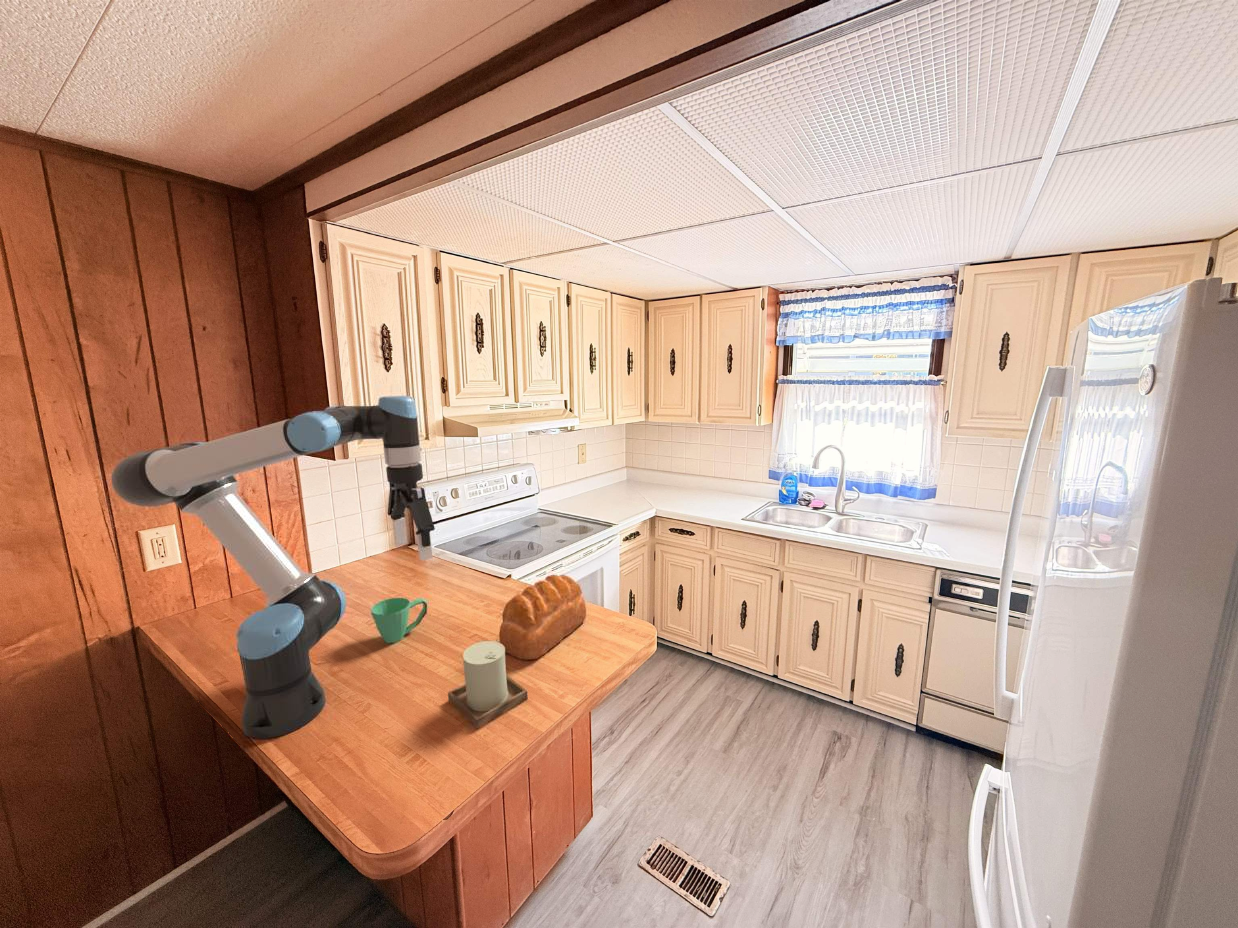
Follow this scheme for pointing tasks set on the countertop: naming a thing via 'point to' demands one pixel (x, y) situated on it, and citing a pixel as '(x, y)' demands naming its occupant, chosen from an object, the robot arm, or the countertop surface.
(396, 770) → the countertop surface
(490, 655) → the can
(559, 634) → the bread
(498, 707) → the tray
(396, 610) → the mug
